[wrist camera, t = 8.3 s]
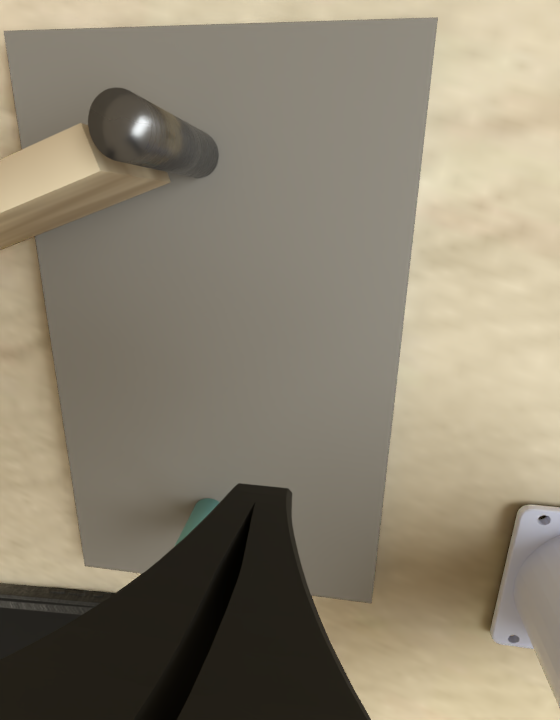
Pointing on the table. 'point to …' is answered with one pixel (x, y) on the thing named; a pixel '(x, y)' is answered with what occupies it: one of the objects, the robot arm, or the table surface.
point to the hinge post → (149, 135)
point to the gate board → (237, 280)
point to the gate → (64, 184)
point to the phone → (39, 612)
